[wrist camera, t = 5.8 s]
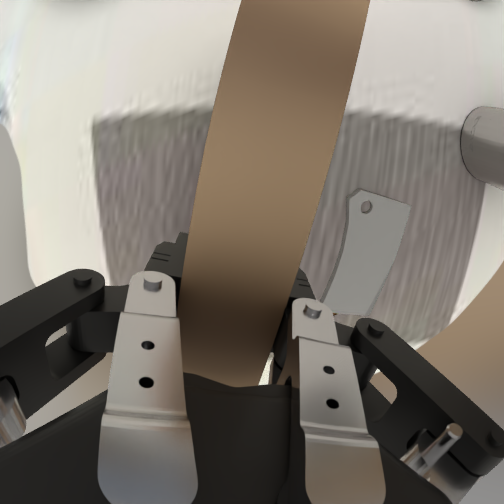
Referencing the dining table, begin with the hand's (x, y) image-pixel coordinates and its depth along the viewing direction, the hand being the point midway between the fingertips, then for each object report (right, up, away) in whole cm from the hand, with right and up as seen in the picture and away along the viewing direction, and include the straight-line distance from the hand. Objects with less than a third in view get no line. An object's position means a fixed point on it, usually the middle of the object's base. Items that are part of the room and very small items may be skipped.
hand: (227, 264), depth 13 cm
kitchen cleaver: (+12, -4, +24) cm, 27 cm away
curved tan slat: (0, +1, +2) cm, 2 cm away
